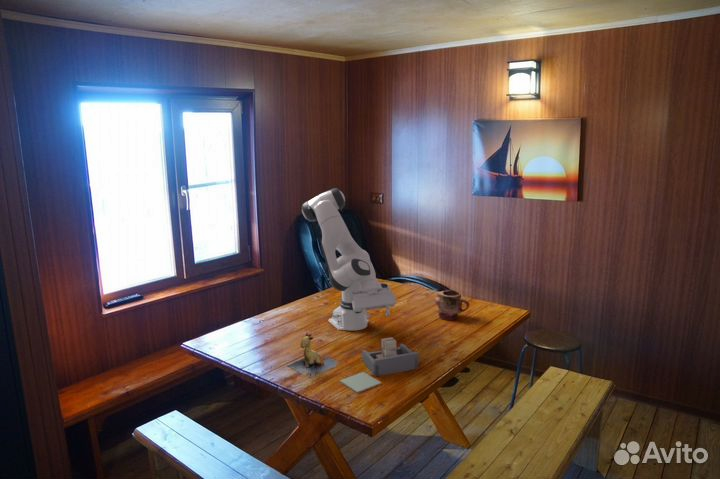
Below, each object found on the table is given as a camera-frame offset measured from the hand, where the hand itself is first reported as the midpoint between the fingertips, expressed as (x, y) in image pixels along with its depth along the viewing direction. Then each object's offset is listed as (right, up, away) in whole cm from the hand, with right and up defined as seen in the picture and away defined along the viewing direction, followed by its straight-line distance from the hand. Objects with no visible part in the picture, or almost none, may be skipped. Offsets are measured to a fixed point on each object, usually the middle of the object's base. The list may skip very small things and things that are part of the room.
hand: (378, 316), depth 236 cm
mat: (-8, -23, -23) cm, 34 cm away
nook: (+4, -19, -7) cm, 21 cm away
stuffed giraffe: (-28, -21, -6) cm, 35 cm away
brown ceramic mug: (+40, -7, +46) cm, 62 cm away
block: (+4, -16, -7) cm, 18 cm away
